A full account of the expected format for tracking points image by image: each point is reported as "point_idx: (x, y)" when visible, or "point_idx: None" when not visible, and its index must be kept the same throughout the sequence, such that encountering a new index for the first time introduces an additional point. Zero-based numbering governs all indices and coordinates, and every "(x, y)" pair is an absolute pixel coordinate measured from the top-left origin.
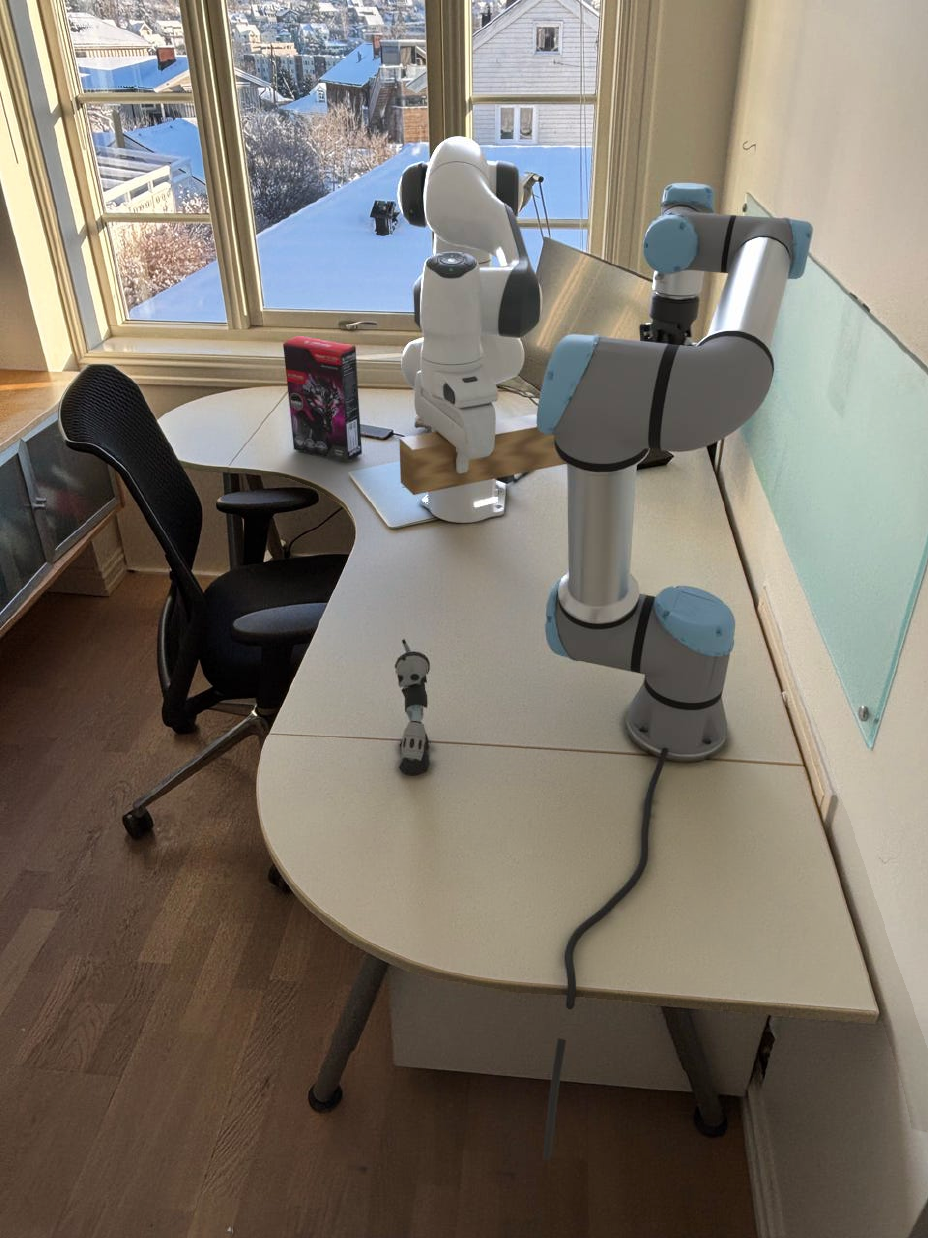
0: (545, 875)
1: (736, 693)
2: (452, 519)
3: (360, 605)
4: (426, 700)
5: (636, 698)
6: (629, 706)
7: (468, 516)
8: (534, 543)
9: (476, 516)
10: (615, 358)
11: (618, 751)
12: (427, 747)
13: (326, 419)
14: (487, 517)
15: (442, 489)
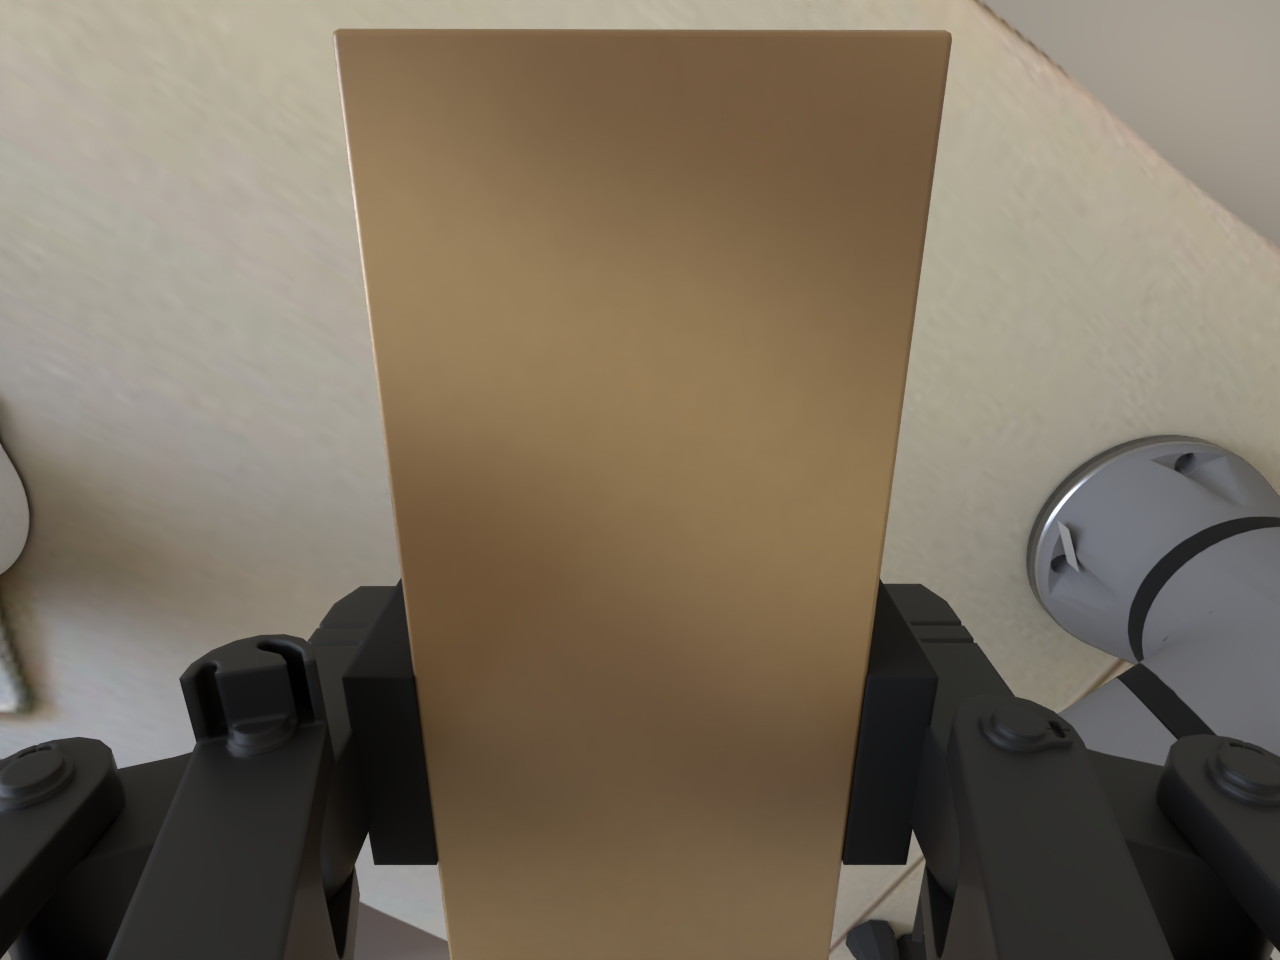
0: None
1: (1149, 322)
2: (8, 562)
3: (391, 875)
4: None
5: (1110, 652)
6: (1063, 626)
7: (9, 525)
8: (210, 393)
9: (8, 498)
10: None
11: (1105, 671)
12: (889, 928)
13: None
14: (3, 452)
15: None
